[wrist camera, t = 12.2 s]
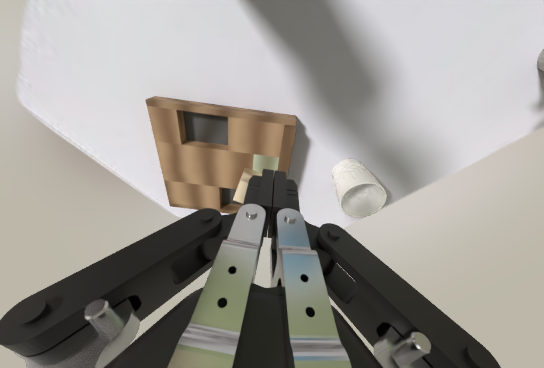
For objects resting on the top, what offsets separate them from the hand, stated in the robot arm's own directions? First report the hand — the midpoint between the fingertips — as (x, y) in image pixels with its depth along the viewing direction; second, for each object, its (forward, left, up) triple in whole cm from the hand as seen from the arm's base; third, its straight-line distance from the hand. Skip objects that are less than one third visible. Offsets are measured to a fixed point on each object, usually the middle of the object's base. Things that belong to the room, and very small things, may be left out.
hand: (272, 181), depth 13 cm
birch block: (+12, -12, -24) cm, 29 cm away
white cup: (+20, +7, -27) cm, 34 cm away
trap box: (+7, -16, -27) cm, 32 cm away
